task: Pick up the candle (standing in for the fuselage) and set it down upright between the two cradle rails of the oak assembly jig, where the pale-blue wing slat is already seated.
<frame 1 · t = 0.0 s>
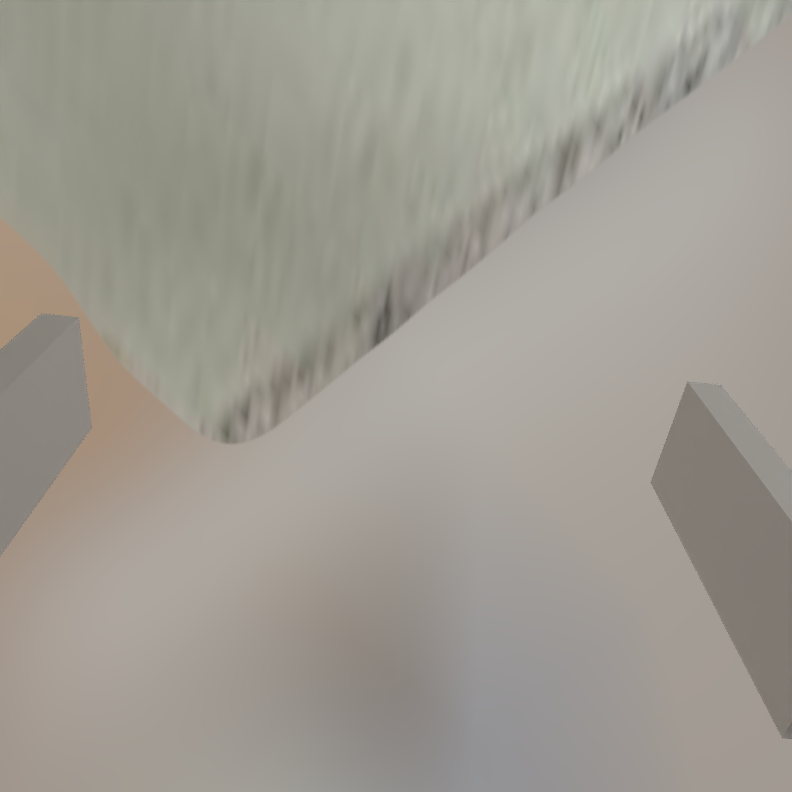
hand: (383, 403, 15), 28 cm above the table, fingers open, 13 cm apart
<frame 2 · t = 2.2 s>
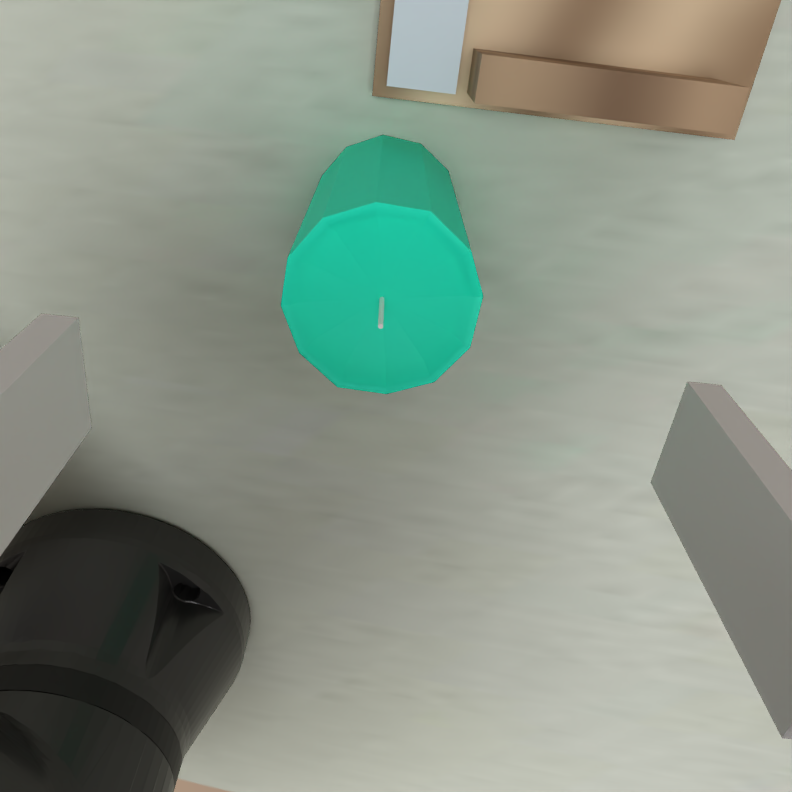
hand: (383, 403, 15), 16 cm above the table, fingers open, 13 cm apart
candle: (386, 208, 30), on the table
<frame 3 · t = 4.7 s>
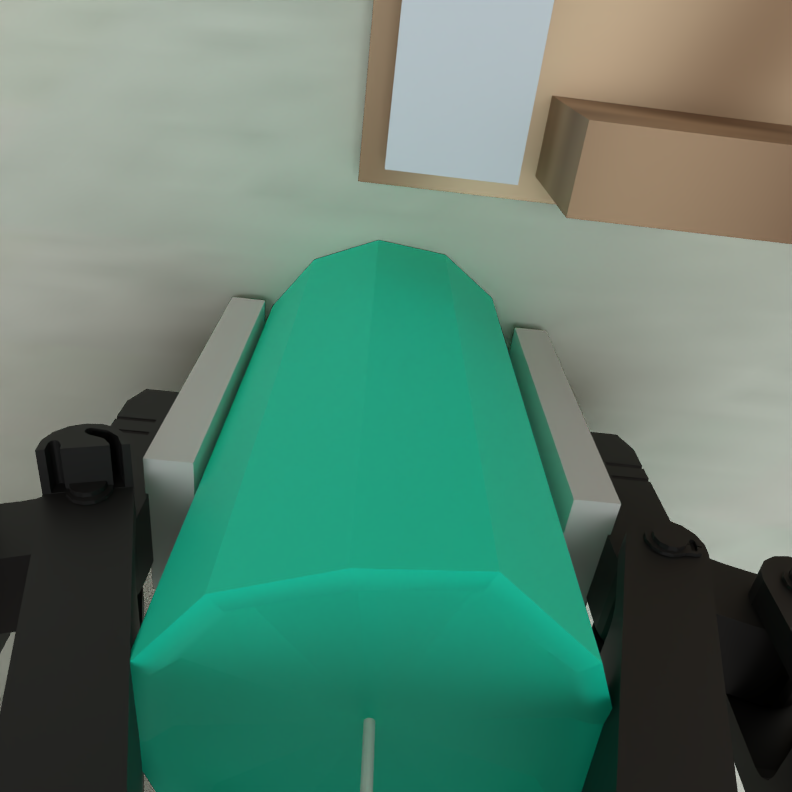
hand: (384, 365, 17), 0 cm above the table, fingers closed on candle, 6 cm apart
candle: (385, 354, 18), on the table, touching gripper
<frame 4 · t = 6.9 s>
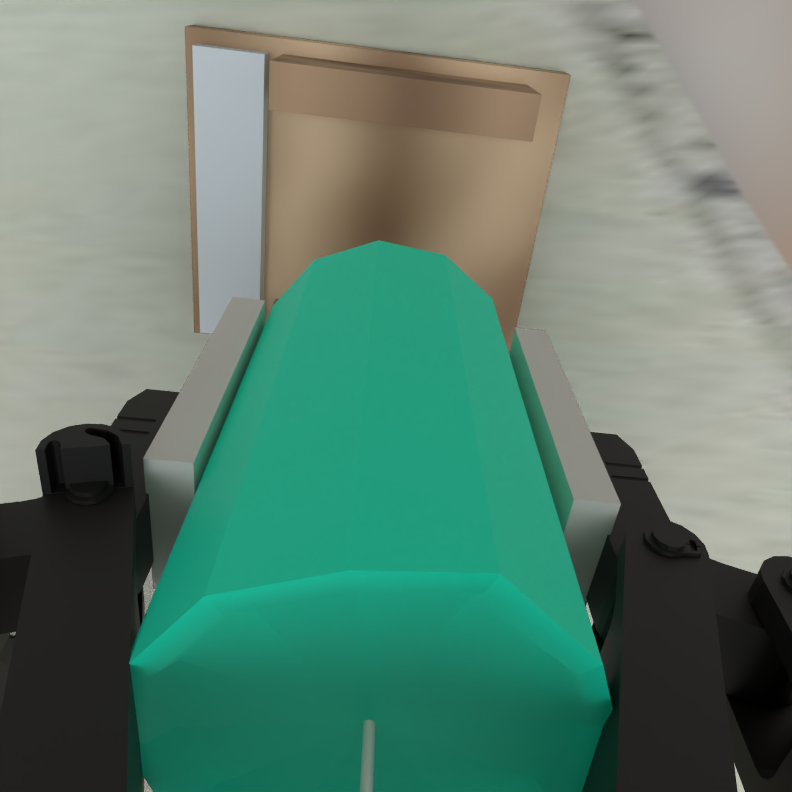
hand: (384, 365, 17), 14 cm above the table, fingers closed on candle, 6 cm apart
candle: (385, 355, 18), point 14 cm above the table, touching gripper
jig: (366, 207, 29), on the table
wing slat: (240, 193, 29), resting on jig
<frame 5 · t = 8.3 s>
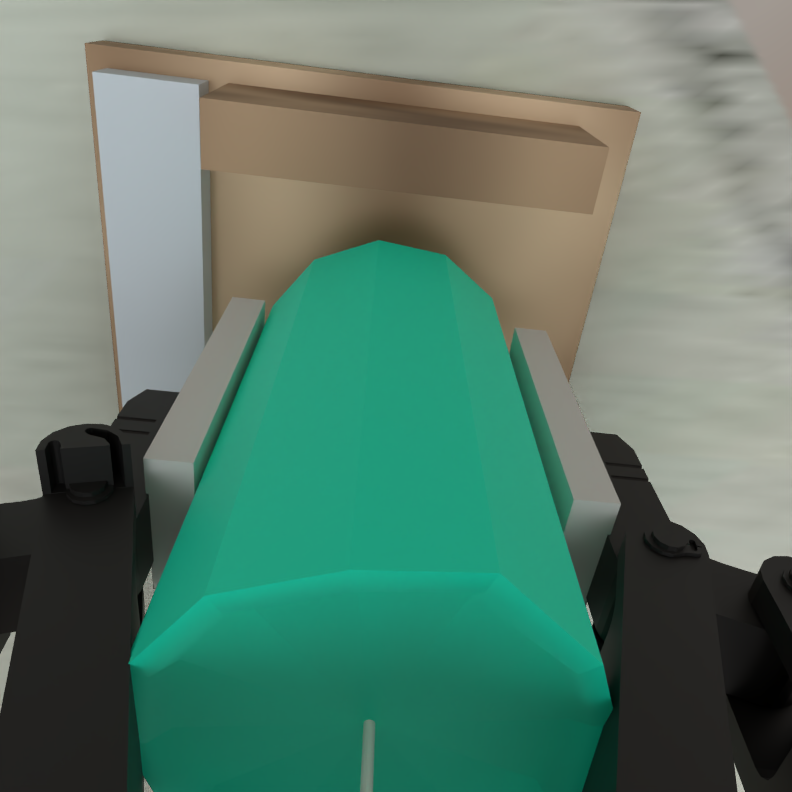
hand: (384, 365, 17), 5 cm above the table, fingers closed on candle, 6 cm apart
candle: (385, 355, 17), point 5 cm above the table, touching gripper
jig: (351, 286, 22), on the table
wing slat: (179, 267, 21), resting on jig
when the fingers open (3 cm above the table, at t = 9.5 s): candle drops 1 cm, resting on jig.
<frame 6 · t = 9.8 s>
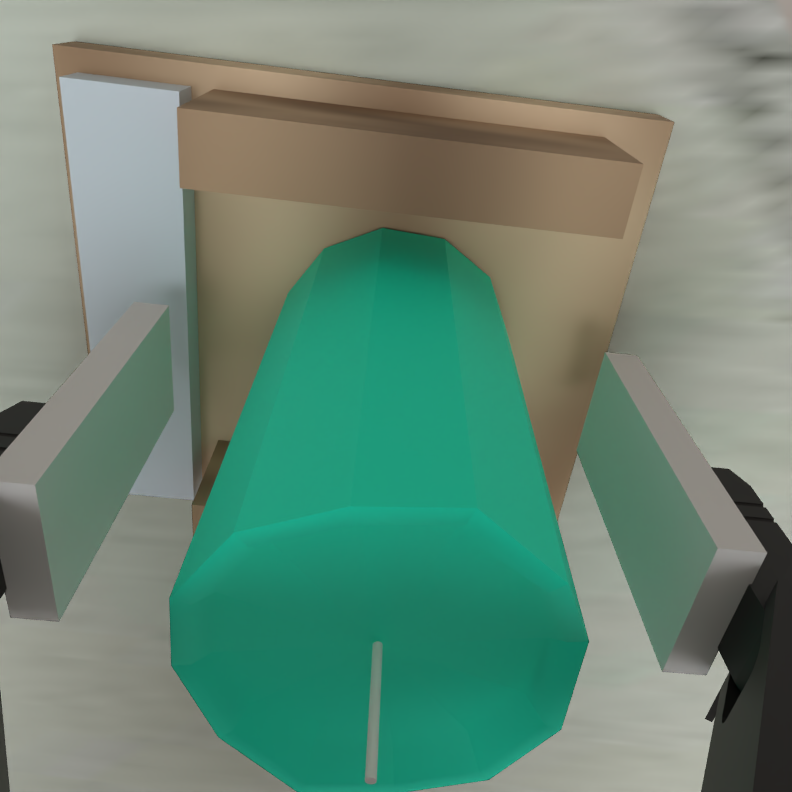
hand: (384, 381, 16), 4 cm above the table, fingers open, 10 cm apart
candle: (393, 334, 19), point 1 cm above the table, touching jig
jig: (351, 310, 20), on the table
wing slat: (162, 290, 19), resting on jig
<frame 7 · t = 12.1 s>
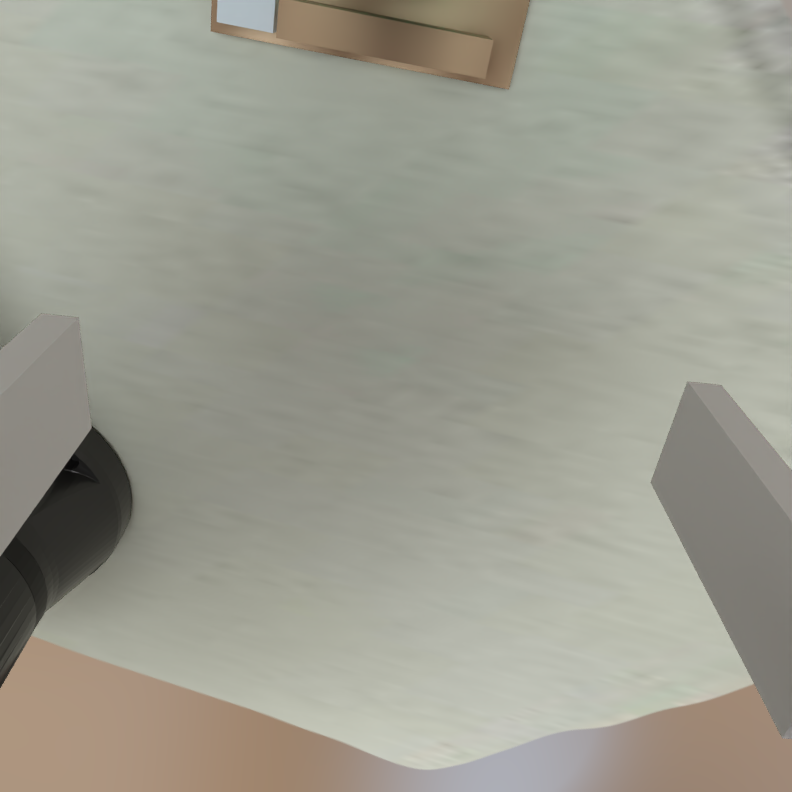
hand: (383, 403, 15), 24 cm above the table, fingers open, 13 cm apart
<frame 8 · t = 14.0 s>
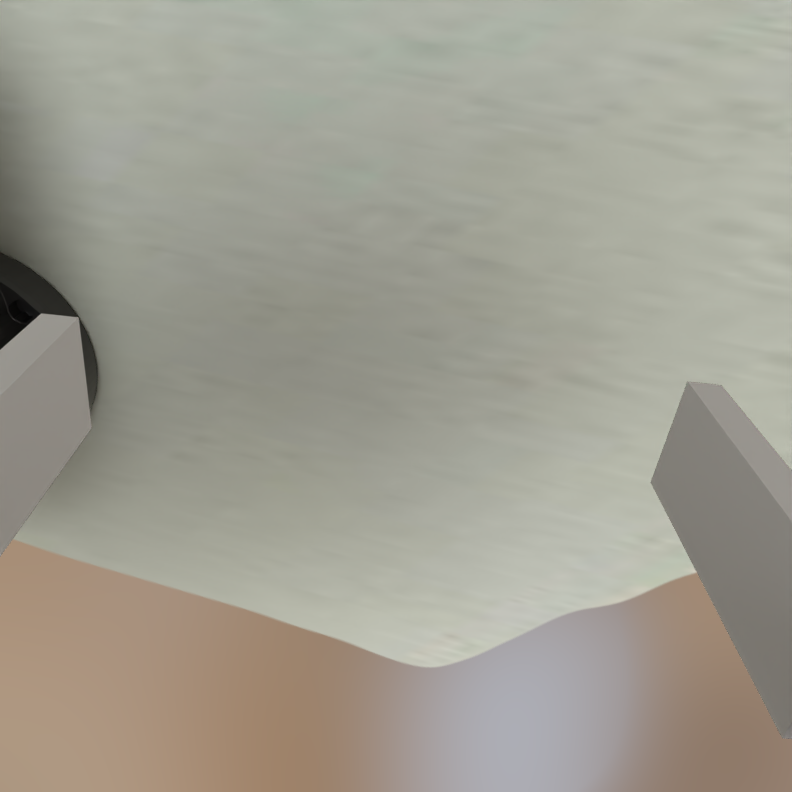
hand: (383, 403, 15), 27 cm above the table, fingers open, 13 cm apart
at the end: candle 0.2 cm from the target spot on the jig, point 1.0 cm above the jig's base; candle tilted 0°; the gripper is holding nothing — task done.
